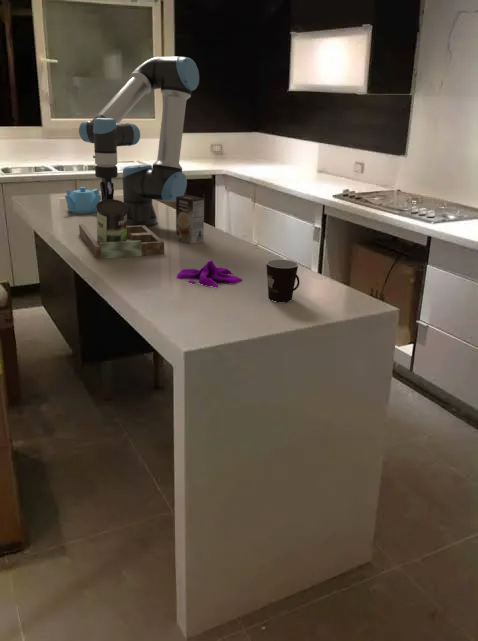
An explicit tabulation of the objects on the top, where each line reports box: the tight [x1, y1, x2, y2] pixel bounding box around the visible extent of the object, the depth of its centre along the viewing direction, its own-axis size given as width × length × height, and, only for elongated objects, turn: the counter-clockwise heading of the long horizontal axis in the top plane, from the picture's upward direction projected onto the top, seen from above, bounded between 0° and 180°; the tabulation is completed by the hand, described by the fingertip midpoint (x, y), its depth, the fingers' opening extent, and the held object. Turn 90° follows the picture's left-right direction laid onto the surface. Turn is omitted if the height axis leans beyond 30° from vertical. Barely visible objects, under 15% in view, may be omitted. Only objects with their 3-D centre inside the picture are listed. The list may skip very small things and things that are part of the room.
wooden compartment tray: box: [78, 223, 165, 260], centre depth 220 cm, size 23×36×5 cm, turn 22°
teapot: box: [64, 186, 102, 215], centre depth 271 cm, size 15×15×11 cm
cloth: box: [176, 259, 243, 288], centre depth 184 cm, size 22×19×6 cm
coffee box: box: [175, 194, 205, 245], centre depth 227 cm, size 9×6×16 cm
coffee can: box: [96, 198, 128, 245], centre depth 212 cm, size 10×10×14 cm
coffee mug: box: [265, 258, 300, 303], centre depth 167 cm, size 12×9×10 cm
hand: (108, 233), depth 220 cm, fingers closed
